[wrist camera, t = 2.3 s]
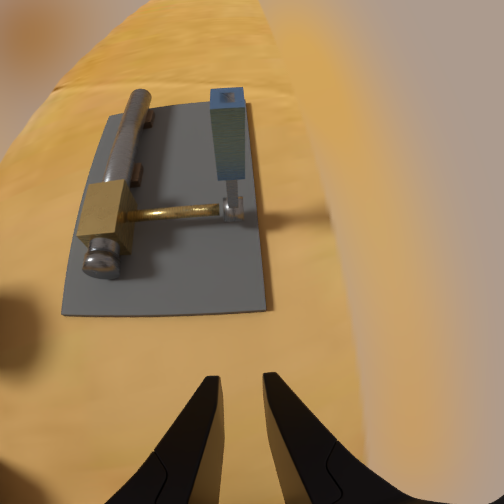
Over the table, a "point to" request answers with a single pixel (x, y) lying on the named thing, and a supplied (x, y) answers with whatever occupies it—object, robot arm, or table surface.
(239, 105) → the valve lever
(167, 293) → the gray mounting plate
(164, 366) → the table surface
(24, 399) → the table surface
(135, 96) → the valve pipe
